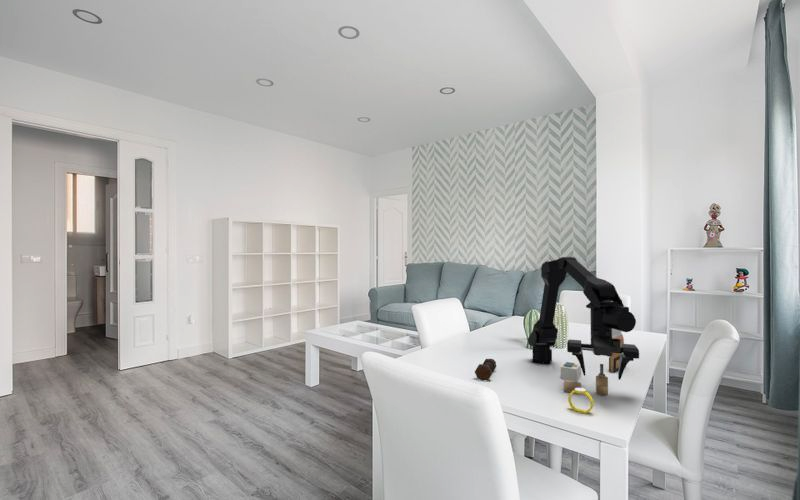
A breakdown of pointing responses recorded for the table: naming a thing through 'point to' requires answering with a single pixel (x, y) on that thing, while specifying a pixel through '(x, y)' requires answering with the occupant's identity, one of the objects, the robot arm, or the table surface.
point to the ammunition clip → (615, 357)
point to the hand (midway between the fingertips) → (601, 377)
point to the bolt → (485, 369)
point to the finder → (570, 371)
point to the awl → (601, 383)
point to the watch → (581, 391)
